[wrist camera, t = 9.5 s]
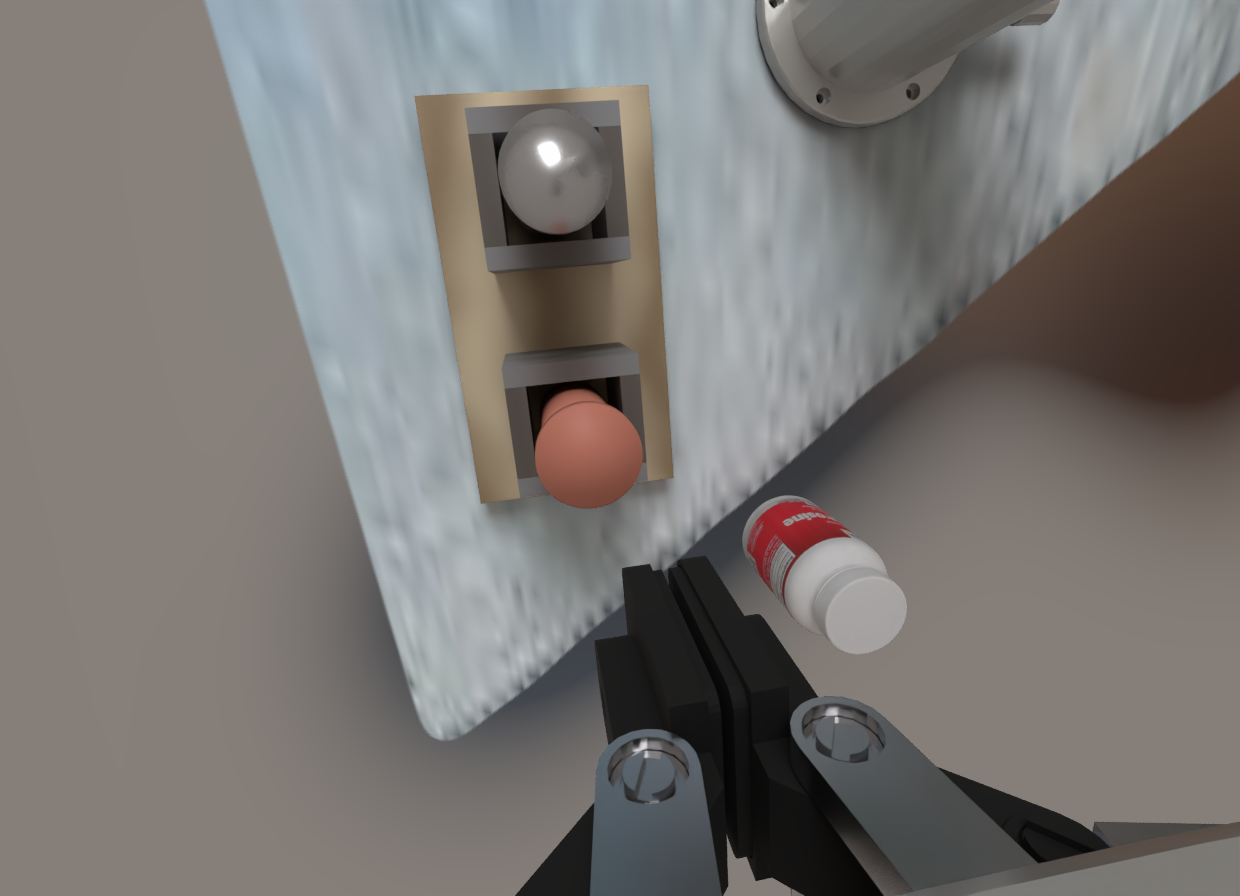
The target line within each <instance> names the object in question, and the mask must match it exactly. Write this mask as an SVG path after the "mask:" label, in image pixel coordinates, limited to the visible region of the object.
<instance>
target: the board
mask: <svg viewBox="0 0 1240 896" xmlns="http://www.w3.org/2000/svg"><path fill="white" fill-rule="evenodd" d="M415 102H416V109H417V115H418V121H419V127H420V133H421V139H422V145H423V151H424V158H425V164H426V170H427V176H428V182H429V188H430V194H431V200H432V207H433V213H434V219H435V225H436V231H437V237H438V243H439V249H440V255H441V262H442V268H443V274H444V280H445V286H446V292H447V298H448V304H449V311H450V317H451V323H452V329H453V335H454V341H455V347H456V353H457V359H458V366H459V372H460V378H461V384H462V390H463V396H464V402H465V408H466V415H467V421H468V427H469V433H470V439H471V445H472V451H473V457H474V463H475V470H476V476H477V482H478V488H479V494H480V500H481V504H482V503H489V502H497V501H504V500H512V499H519V498H527V497H534V496H541V495H549V494H550V493H549V492H548V491H547V490H546V488H545V487H544V485H543V484H542V482H541V480H540V478H539V476H538V473H537V469H536V463H535V445H536V440H537V437H538V434H539V432H540V430H541V419H540V407H541V403H542V400H543V398H544V397H545V395H546V394H547V392H548V391H549V390H550V389H551V388H553V387H554V386H555V385H557V384H559V383H562V382H570V381H581V382H584V383H587V384H589V385H591V386H592V387H593V388H595V389H596V390H597V391H598V393H599V394H600V395H601V397H602V398H603V400H604V401H605V403H606V404H608V405H610V406H612V407H614V408H616V409H617V410H619V411H620V412H621V413H623V414H624V415H625V416H626V417H627V418H628V420H629V421H630V422H631V423H632V425H633V426H634V428H635V429H636V431H637V433H638V435H639V437H640V440H641V444H642V450H643V460H642V466H641V470H640V473H639V475H638V478H637V479H636V481H635V483H638V482H645V481H653V480H660V479H668V478H673V464H672V448H671V432H670V417H669V401H668V385H667V370H666V354H665V338H664V323H663V307H662V291H661V275H660V260H659V244H658V228H657V213H656V197H655V181H654V166H653V150H652V134H651V118H650V103H649V87H648V85H635V86H614V87H593V88H572V89H551V90H531V91H510V92H489V93H468V94H447V95H426V96H415ZM543 109H561V110H566V111H569V112H572V113H574V114H576V115H578V116H580V117H582V118H583V119H585V120H586V121H587V122H589V123H590V124H591V125H592V126H593V127H594V128H595V129H596V130H597V131H598V133H599V134H600V136H601V137H602V139H603V141H604V142H605V144H606V146H607V149H608V151H609V155H610V158H611V163H612V186H611V190H610V194H609V197H608V199H607V201H606V203H605V205H604V207H603V209H602V210H601V212H600V213H599V214H598V215H597V216H596V217H595V218H594V219H593V220H592V221H591V222H590V223H589V224H588V225H586V226H585V227H583V228H582V229H579V230H577V231H575V232H572V233H568V234H565V235H564V236H562V237H559V238H555V239H543V238H539V237H536V236H534V235H532V234H531V233H529V232H528V231H527V230H526V229H525V228H524V227H523V226H522V225H521V224H520V222H519V220H518V219H517V217H516V215H515V214H514V213H513V212H512V210H511V209H510V207H509V206H508V204H507V202H506V200H505V198H504V196H503V193H502V190H501V186H500V182H499V177H498V158H499V153H500V149H501V146H502V143H503V141H504V139H505V137H506V135H507V134H508V132H509V131H510V129H511V128H512V127H513V126H514V125H515V124H516V123H517V122H518V121H519V120H520V119H522V118H523V117H525V116H526V115H528V114H530V113H533V112H535V111H539V110H543Z"/></svg>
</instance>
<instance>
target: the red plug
mask: <svg viewBox="0 0 1240 896" xmlns="http://www.w3.org/2000/svg"><path fill="white" fill-rule="evenodd" d="M540 419H541V430H540V432H539V434H538V437H537V440H536V445H535V463H536V469H537V473H538V476H539V478H540V480H541V482H542V484H543V485H544V487H545V488H546V490H547V491H548V492H549V493H550V494H551V495H552V496H554V497H555V498H556V499H558V500H559V501H561V502H563V503H565V504H567V505H570V506H573V507H578V508H597V507H602V506H605V505H608V504H610V503H612V502H614V501H616V500H618V499H619V498H621V497H622V496H623V495H624V494H626V493H627V491H628V490H629V489H630V488H631V487H632V486H633V484H634V483H635V481H636V479H637V478H638V475H639V473H640V470H641V466H642V460H643V450H642V444H641V440H640V437H639V435H638V433H637V431H636V429H635V428H634V426H633V425H632V423H631V422H630V421H629V420H628V418H627V417H626V416H625V415H624V414H623V413H621V412H620V411H619V410H617V409H616V408H614V407H612V406H610V405H608V404H606V403H605V401H604V400H603V398H602V397H601V395H600V394H599V393H598V391H597V390H596V389H595V388H593V387H592V386H591V385H589V384H587V383H584V382H581V381H570V382H562V383H559V384H557V385H555V386H554V387H553V388H551V389H550V390H549V391H548V392H547V394H546V395H545V397H544V398H543V400H542V403H541V407H540Z"/></svg>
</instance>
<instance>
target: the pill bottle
mask: <svg viewBox="0 0 1240 896" xmlns="http://www.w3.org/2000/svg"><path fill="white" fill-rule="evenodd" d="M742 541H743V550H744V553H745V556H746V558H747V559H748V561H749V562H750V564H751V565H752V567H753V568H754V569H755V571H756V572H757V573H758V574H759V575H760V577H761V578H762V579H763V580H764V582H765V583H766V584H767V585H768V587H769V588H770V589H771V590H772V592H773V593H774V594H775V596H776V597H777V598H778V599H779V600H780V602H781V603H782V604H783V606H784V607H785V608H786V609H787V610H788V612H789V613H790V615H791V616H792V617H793V618H794V619H795V620H796V621H797V622H798V623H799V624H800V625H801V626H802V627H803V628H805V629H807V630H808V631H810V632H813V633H815V634H819V635H823V636H825V637H826V638H827V639H828V640H829V641H830V642H831V643H832V644H833V645H834V646H835V647H836V648H838V649H840V650H841V651H844V652H846V653H850V654H866V653H870V652H873V651H876V650H878V649H880V648H882V647H883V646H885V645H887V644H888V643H889V642H890V641H891V640H892V639H893V638H894V637H895V636H896V635H897V634H898V632H899V631H900V630H901V628H902V626H903V623H904V621H905V618H906V613H907V603H906V599H905V596H904V594H903V592H902V590H901V589H900V588H899V587H898V586H897V584H896V583H894V582H893V581H892V580H891V579H890V578H889V577H888V575H887V571H886V567H885V565H884V563H883V561H882V559H881V558H880V556H879V555H878V554H877V553H876V552H875V551H874V550H873V549H872V548H871V547H870V546H869V545H867V544H866V543H865V542H863V541H862V540H861V539H860V538H858V537H857V536H856V535H854V534H853V533H851V531H849V530H848V529H847V528H845V527H844V526H843V525H841V524H840V523H839V522H837V521H836V520H835V519H833V518H832V517H831V516H830V515H828V514H827V513H826V512H824V511H823V510H822V509H820V508H819V507H818V506H816V505H815V504H813V503H812V502H810V501H809V500H807V499H804V498H801V497H798V496H780V497H776V498H773V499H770V500H768V501H766V502H765V503H763V504H762V505H761V506H759V507H758V508H757V509H756V510H755V511H754V512H753V513H752V514H751V516H750V517H749V519H748V521H747V523H746V525H745V528H744V532H743V538H742Z"/></svg>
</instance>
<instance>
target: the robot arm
mask: <svg viewBox="0 0 1240 896" xmlns="http://www.w3.org/2000/svg"><path fill="white" fill-rule="evenodd" d="M1059 1H1060V0H757V2H756V15H757V23H758V30H759V37H760V41H761V44H762V48H763V51H764V54H765V57H766V61H767V63H768V65H769V67H770V69H771V71H772V73H773V75H774V77H775V78H776V80H777V82H778V83H779V85H780V86H781V87H782V89H783V90H784V91H785V93H786V94H787V95H788V96H789V98H790V99H791V100H792V101H794V102H795V103H796V104H797V105H798V106H799V107H800V108H802V109H803V110H804V111H805V112H807V113H808V114H810V115H812V116H814V117H816V118H817V119H819V120H821V121H823V122H826V123H830V124H833V125H837V126H840V127H856V128H860V127H866V126H872V125H878V124H881V123H883V122H886V121H888V120H891V119H893V118H896V117H898V116H899V115H901V114H903V113H905V112H907V111H909V110H911V109H913V108H914V107H915V106H917V105H918V104H919V103H920V102H922V101H923V100H924V99H925V98H927V97H928V96H929V95H930V94H931V93H932V92H933V91H934V90H935V88H936V87H937V86H938V85H939V84H940V83H941V82H942V80H943V79H944V78H945V77H946V75H947V73H948V72H949V70H950V68H951V67H952V65H953V64H954V62H955V60H956V59H957V57H958V54H959V52H960V51H962V50H964V49H966V48H968V47H970V46H972V45H973V44H975V43H977V42H979V41H981V40H983V39H985V38H986V37H988V36H990V35H992V34H994V33H996V32H998V31H999V30H1001V29H1003V28H1005V27H1007V26H1009V25H1010V26H1027V25H1041V24H1043V23H1045V22H1047V21H1048V20H1049V19H1050V18H1051V17H1052V15H1053V14H1054V13H1055V11H1056V9H1057V7H1058V4H1059ZM769 2H772V4H773V6H774V8H773V7H772V6H771V5H770V3H769ZM816 96H817V97H818V98H819V100H820V102H819V103H818V101H817V98H816ZM622 578H623V589H624V599H625V609H626V621H627V632H628V635H625V636H619V637H613V638H607V639H601V640H595V652H596V661H597V669H598V678H599V686H600V693H601V701H602V708H603V715H604V721H605V727H606V733H607V739H608V746H607V747H606V749H605V750H604V752H603V753H602V755H601V756H600V758H599V761H598V765H597V769H596V783H595V802H594V804H593V805H592V806H591V807H590V808H589V809H588V810H587V812H586V813H585V814H584V815H583V816H582V817H581V819H580V820H579V821H578V822H577V824H576V825H575V826H574V827H573V828H572V830H571V831H570V832H569V833H568V834H567V835H566V836H565V838H564V839H563V840H562V841H561V842H560V843H559V845H558V846H557V847H556V848H555V849H554V850H553V852H552V853H551V854H550V855H549V856H548V858H547V859H546V860H545V861H544V862H543V863H542V865H541V866H540V867H539V868H538V869H537V871H536V872H535V873H534V874H533V875H532V876H531V878H530V879H529V880H528V881H527V882H526V883H525V885H524V886H523V887H522V888H521V889H520V891H519V892H518V893H517V894H516V895H515V896H723V895H724V893H725V891H726V889H727V887H728V868H727V837H726V834H727V836H728V839H729V842H730V844H731V848H732V850H733V853H734V855H735V857H736V858H743V857H747V859H748V861H749V864H750V867H751V869H752V872H753V875H754V877H755V880H756V881H758V880H763V879H767V878H774V879H776V880H778V881H779V882H781V883H783V884H784V885H786V886H788V887H790V888H791V896H1240V822H1235V823H1230V824H1180V823H1178V824H1177V823H1128V822H1094V827H1093V832H1092V831H1090V830H1089V829H1087V828H1086V827H1084V826H1083V825H1081V824H1080V823H1078V822H1076V821H1074V820H1071V819H1069V818H1067V817H1065V816H1063V815H1061V814H1059V813H1057V812H1054V811H1051V810H1048V809H1046V808H1043V807H1041V806H1038V805H1036V804H1033V803H1030V802H1028V801H1025V800H1022V799H1020V798H1017V797H1015V796H1012V795H1009V794H1007V793H1004V792H1001V791H999V790H996V789H993V788H991V787H988V786H986V785H983V784H980V783H978V782H975V781H973V780H970V779H967V778H965V777H962V776H960V775H957V774H954V773H952V772H949V771H946V770H944V769H941V768H939V767H936V766H935V765H934V764H933V763H932V762H931V761H930V760H929V759H928V758H927V757H926V756H925V755H924V754H923V753H922V752H921V751H920V750H919V749H917V748H916V747H915V746H914V745H913V744H912V743H911V742H910V741H909V740H908V739H907V738H906V737H905V736H904V735H903V734H902V733H901V732H900V731H899V730H898V729H897V728H895V727H894V726H893V725H892V724H891V723H890V722H889V721H888V720H887V719H886V718H885V717H883V716H882V715H881V714H880V713H878V712H877V711H876V710H874V709H873V708H871V707H869V706H867V705H865V704H863V703H861V702H859V701H856V700H852V699H848V698H844V697H835V696H824V697H818V696H817V695H816V693H815V692H814V690H813V689H812V687H811V686H810V684H809V683H808V681H807V680H806V679H805V677H804V676H803V674H802V673H801V671H800V670H799V668H798V667H797V666H796V664H795V663H794V662H793V660H792V658H791V657H790V655H789V654H788V653H787V651H786V650H785V648H784V647H783V645H782V644H781V643H780V641H779V640H778V638H777V637H776V635H775V634H774V632H773V631H772V630H771V628H770V627H769V625H768V624H767V622H766V621H765V619H764V618H763V617H762V616H761V615H759V614H755V615H748V616H744V615H743V613H742V612H741V610H740V609H739V607H738V606H737V604H736V602H735V601H734V599H733V598H732V596H731V594H730V593H729V592H728V590H727V588H726V587H725V585H724V584H723V582H722V580H721V579H720V577H719V576H718V574H717V573H716V571H715V570H714V568H713V566H712V565H711V563H710V562H709V560H708V559H707V557H706V556H701V557H694V558H687V559H680V560H678V561H677V567H675V568H669V570H668V579H669V585H668V583H667V581H666V579H665V576H664V574H663V572H662V570H655V571H653V570H652V568H651V566H650V564H646V565H640V566H633V567H626V568H622Z"/></svg>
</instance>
